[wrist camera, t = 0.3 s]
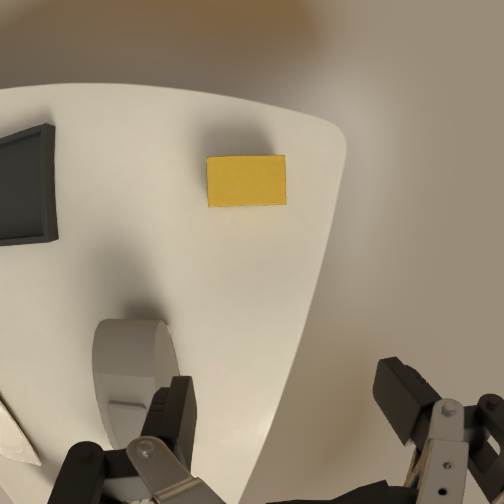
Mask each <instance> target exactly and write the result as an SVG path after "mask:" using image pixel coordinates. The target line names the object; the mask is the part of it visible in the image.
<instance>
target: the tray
mask: <svg viewBox="0 0 504 504" xmlns="http://www.w3.org/2000/svg"><path fill="white" fill-rule="evenodd" d="M54 146H55V126H53V125H50V124H46V123H45V124H42V125H39V126H35V127H32V128H29V129H26V130H23V131H20V132H17V133H15V134H12V135H9V136H6V137H4V138H1V139H0V246H10V245H22V244H34V243H46V242H51V241H54V240H57V239H59V238H58V229H57V218H56V204H55V182H54Z"/></svg>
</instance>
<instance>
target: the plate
mask: <svg viewBox="0 0 504 504" xmlns="http://www.w3.org/2000/svg"><path fill="white" fill-rule="evenodd" d="M0 455H2V456H6V457H9V458H12V459H15V460H18V461H22V462H26V463H30V464H34V465H38V466H41V465H42V464H41V462H40V460H39V458H38V456H37V455H36V453H35V451H34V450H33V448H32V446H31V445H30V443H29V441H28V439H27V438H26V436H25V435H24V434H23V432H22V431H21V429H20V428H19V426H18V425H17V423H16V422H15V421H14V419H13V418H12V416H11V415H10V413H9V412H8V410H7V409H6V408H5V406H4V405H3V404H2V402H1V401H0Z"/></svg>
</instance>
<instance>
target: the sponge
mask: <svg viewBox="0 0 504 504" xmlns="http://www.w3.org/2000/svg"><path fill="white" fill-rule="evenodd" d="M206 159H207V191H208V207H220V206H246V205H282V204H286V171H285V155H244V156H218V157H207V158H206Z"/></svg>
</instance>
